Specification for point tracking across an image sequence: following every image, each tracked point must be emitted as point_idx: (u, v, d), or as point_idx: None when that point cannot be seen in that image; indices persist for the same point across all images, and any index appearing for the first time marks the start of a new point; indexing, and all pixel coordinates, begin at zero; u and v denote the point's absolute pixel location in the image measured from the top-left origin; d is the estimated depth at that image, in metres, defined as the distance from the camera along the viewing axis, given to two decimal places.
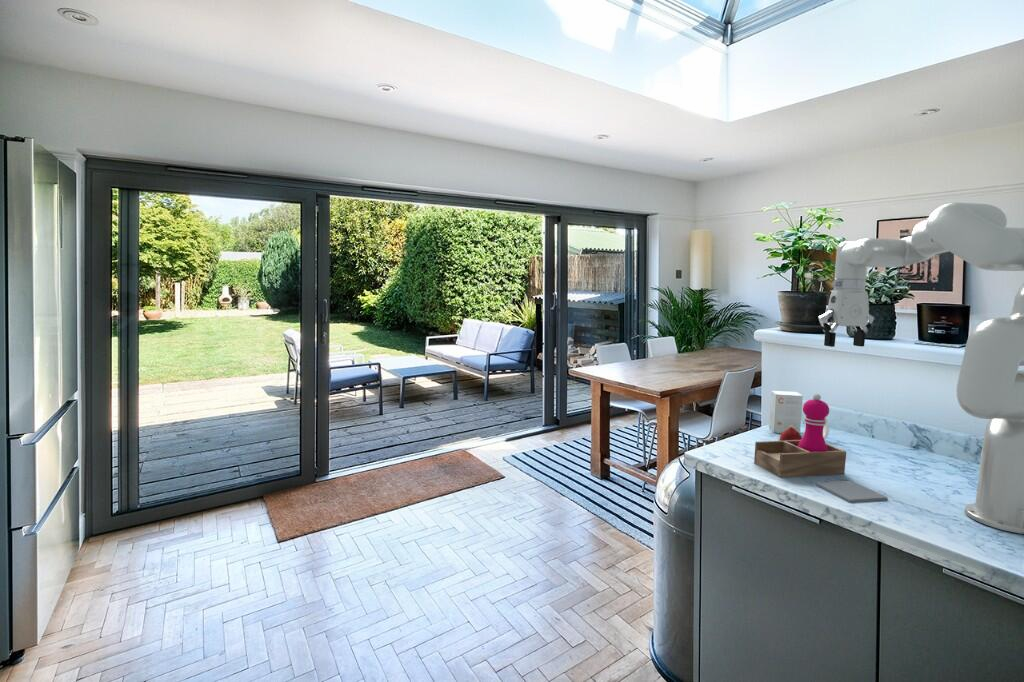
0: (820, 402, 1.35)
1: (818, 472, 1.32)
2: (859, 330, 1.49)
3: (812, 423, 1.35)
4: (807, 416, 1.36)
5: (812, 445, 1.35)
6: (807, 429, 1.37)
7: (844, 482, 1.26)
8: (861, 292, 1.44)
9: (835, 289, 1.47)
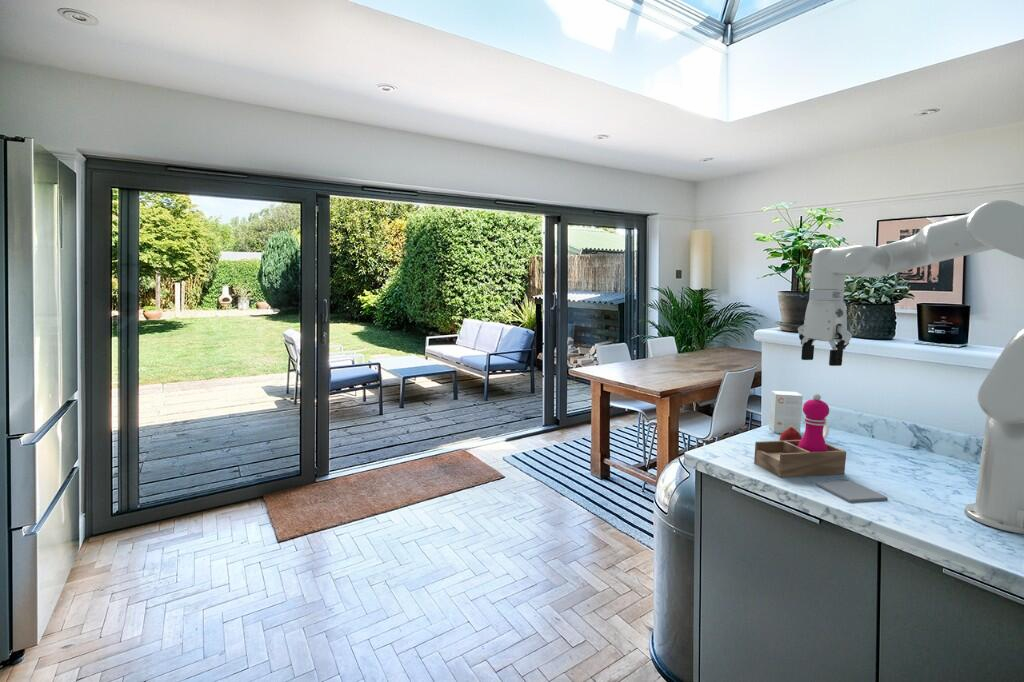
0: (820, 402, 1.35)
1: (818, 472, 1.32)
2: (808, 343, 1.39)
3: (812, 423, 1.35)
4: (807, 416, 1.36)
5: (812, 445, 1.35)
6: (807, 429, 1.37)
7: (844, 482, 1.26)
8: None
9: (833, 301, 1.30)
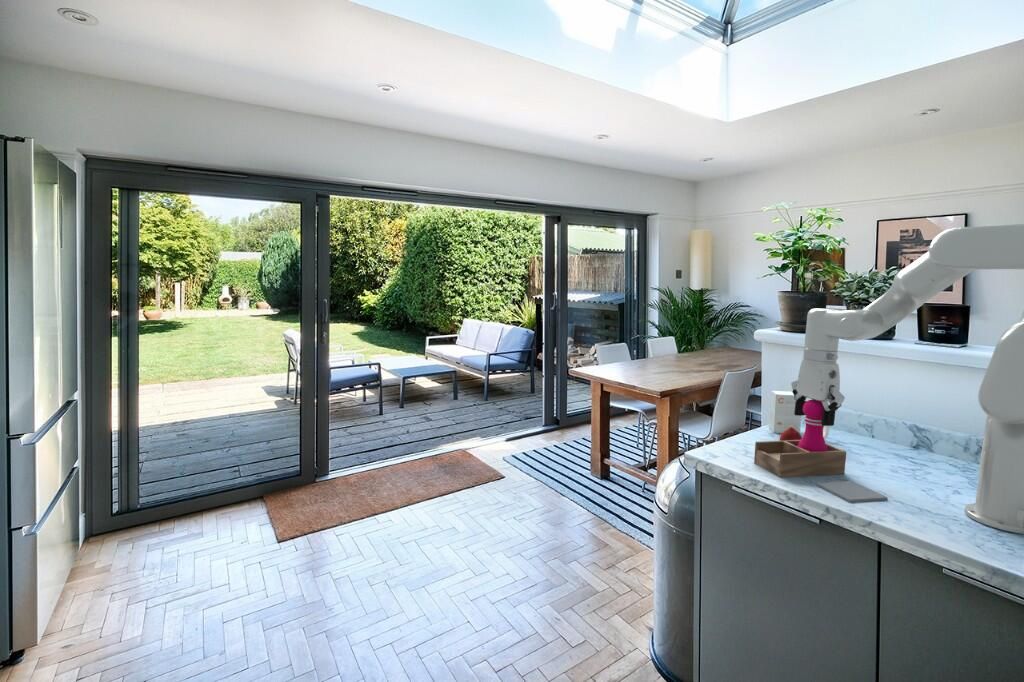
0: (820, 402, 1.35)
1: (818, 472, 1.32)
2: (802, 399, 1.41)
3: (812, 423, 1.35)
4: (807, 416, 1.36)
5: (812, 445, 1.35)
6: (807, 429, 1.37)
7: (844, 482, 1.26)
8: None
9: (827, 362, 1.31)
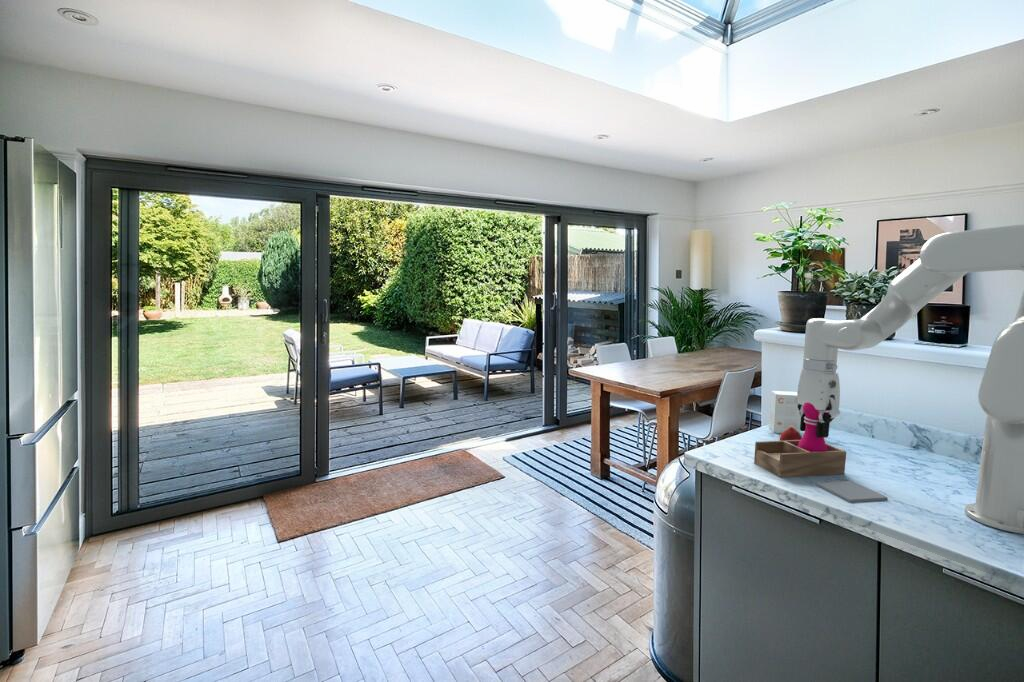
0: None
1: (818, 472, 1.32)
2: None
3: (812, 423, 1.35)
4: (807, 416, 1.36)
5: (812, 445, 1.35)
6: (807, 429, 1.37)
7: (844, 482, 1.26)
8: None
9: (827, 372, 1.32)
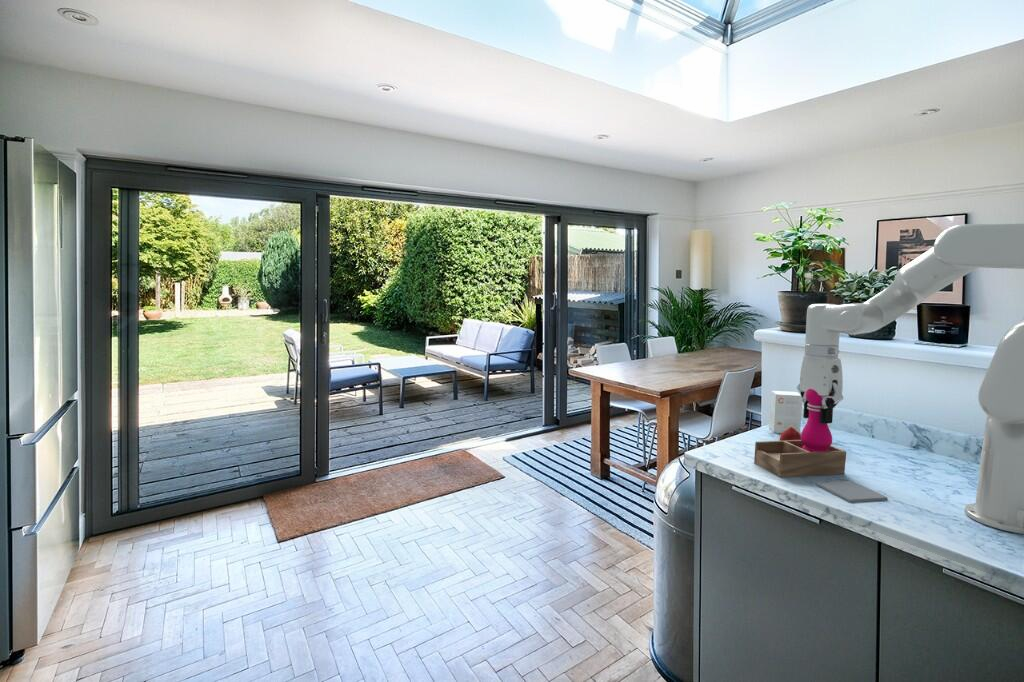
0: None
1: (818, 472, 1.32)
2: None
3: (815, 409, 1.34)
4: (810, 402, 1.36)
5: (816, 432, 1.34)
6: (810, 416, 1.36)
7: (844, 482, 1.26)
8: None
9: (829, 357, 1.31)
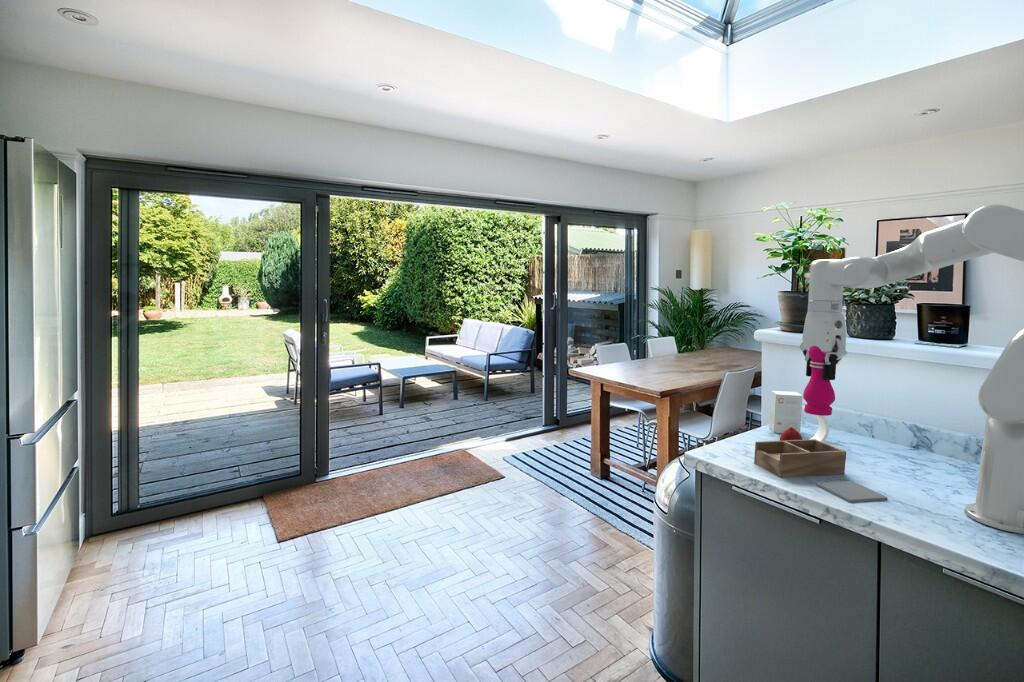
0: None
1: (818, 472, 1.32)
2: None
3: (818, 366, 1.33)
4: (813, 360, 1.34)
5: (818, 389, 1.33)
6: (813, 373, 1.35)
7: (844, 482, 1.26)
8: None
9: (832, 312, 1.30)
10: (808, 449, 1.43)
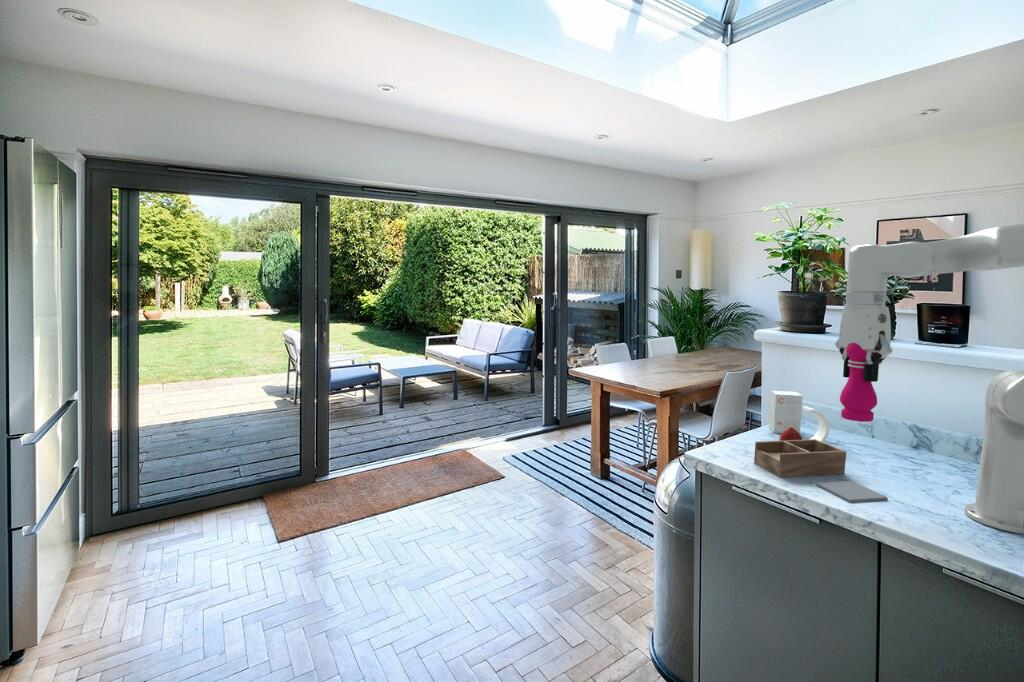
0: None
1: (818, 472, 1.32)
2: None
3: (858, 366, 1.18)
4: (852, 358, 1.19)
5: (858, 391, 1.17)
6: (852, 373, 1.19)
7: (844, 482, 1.26)
8: None
9: (875, 305, 1.14)
10: (808, 449, 1.43)
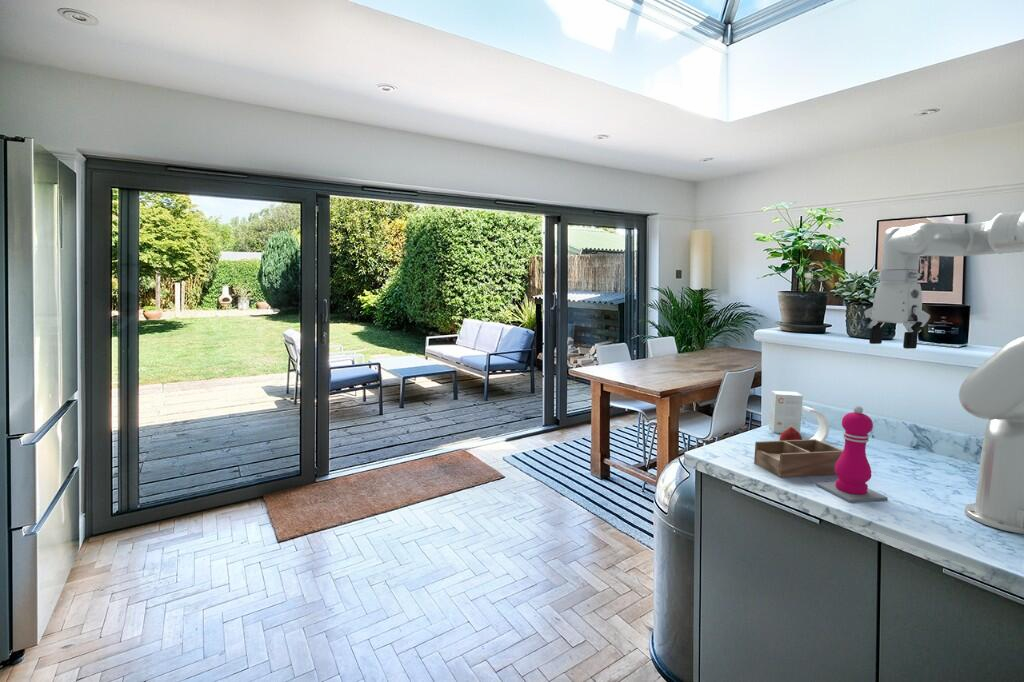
0: (863, 416, 1.18)
1: (818, 472, 1.32)
2: (877, 326, 1.35)
3: (853, 439, 1.19)
4: (847, 431, 1.20)
5: (853, 465, 1.19)
6: (847, 446, 1.21)
7: None
8: None
9: (908, 282, 1.26)
10: (808, 449, 1.43)
